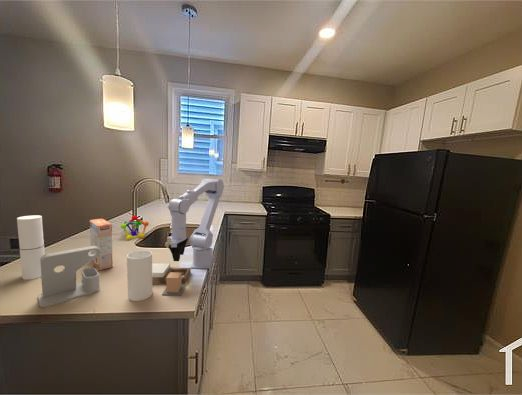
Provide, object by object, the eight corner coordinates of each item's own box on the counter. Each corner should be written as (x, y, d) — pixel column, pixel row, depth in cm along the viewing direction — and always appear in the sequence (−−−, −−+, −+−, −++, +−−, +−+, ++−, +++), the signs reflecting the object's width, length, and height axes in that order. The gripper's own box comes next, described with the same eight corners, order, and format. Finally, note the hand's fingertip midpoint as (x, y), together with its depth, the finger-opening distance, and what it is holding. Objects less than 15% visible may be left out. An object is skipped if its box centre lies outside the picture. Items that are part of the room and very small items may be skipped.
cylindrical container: (19, 281, 92) (13, 219, 89) (26, 273, 99) (21, 215, 95) (42, 277, 96) (38, 218, 92) (48, 270, 102) (44, 214, 98)
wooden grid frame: (190, 272, 107) (190, 267, 106) (185, 284, 97) (185, 278, 96) (150, 272, 105) (150, 267, 105) (140, 283, 95) (140, 277, 95)
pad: (185, 285, 95) (185, 284, 95) (180, 295, 88) (180, 294, 88) (167, 285, 95) (167, 284, 95) (162, 295, 88) (162, 294, 88)
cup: (134, 288, 91) (133, 249, 89) (155, 288, 92) (155, 250, 90) (123, 301, 83) (122, 258, 81) (147, 301, 84) (146, 258, 82)
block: (181, 286, 94) (181, 272, 93) (178, 292, 90) (178, 277, 89) (170, 286, 94) (170, 272, 93) (166, 292, 89) (166, 277, 88)
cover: (170, 267, 105) (170, 263, 105) (163, 277, 96) (163, 272, 96) (149, 267, 104) (149, 263, 104) (140, 277, 95) (140, 272, 95)
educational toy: (140, 234, 160) (142, 213, 159) (148, 239, 152) (150, 216, 150) (115, 236, 149) (117, 213, 148) (122, 242, 140) (124, 217, 139)
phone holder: (96, 280, 96) (94, 238, 93) (102, 290, 89) (100, 245, 86) (38, 296, 83) (33, 248, 81) (39, 309, 76) (35, 257, 74)
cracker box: (113, 267, 108) (112, 223, 105) (98, 271, 104) (96, 225, 101) (105, 258, 117) (103, 217, 115) (90, 261, 113) (88, 219, 110)
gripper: (174, 222, 105) (174, 251, 107) (163, 231, 91) (163, 264, 93) (190, 223, 106) (189, 251, 107) (181, 232, 91) (181, 264, 93)
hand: (178, 257), depth 100 cm, fingers open, 6 cm apart
